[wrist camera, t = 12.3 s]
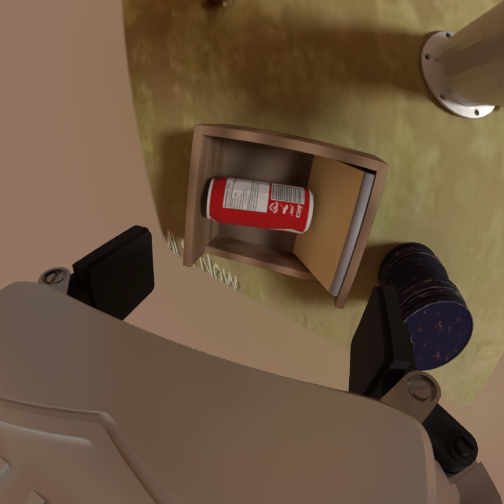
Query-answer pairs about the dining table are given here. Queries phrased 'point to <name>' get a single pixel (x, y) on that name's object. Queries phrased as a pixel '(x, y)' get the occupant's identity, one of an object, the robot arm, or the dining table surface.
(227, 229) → the open wooden box
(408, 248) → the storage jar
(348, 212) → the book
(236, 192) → the soda can
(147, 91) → the dining table surface
